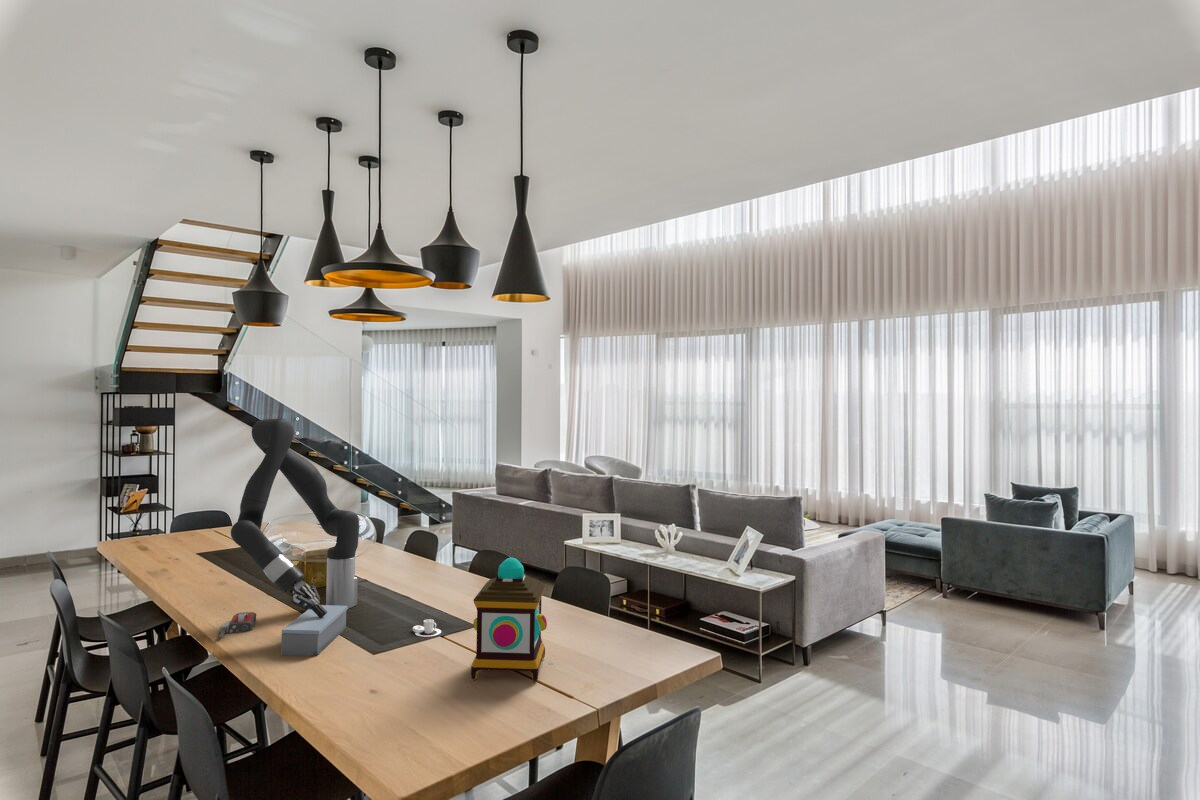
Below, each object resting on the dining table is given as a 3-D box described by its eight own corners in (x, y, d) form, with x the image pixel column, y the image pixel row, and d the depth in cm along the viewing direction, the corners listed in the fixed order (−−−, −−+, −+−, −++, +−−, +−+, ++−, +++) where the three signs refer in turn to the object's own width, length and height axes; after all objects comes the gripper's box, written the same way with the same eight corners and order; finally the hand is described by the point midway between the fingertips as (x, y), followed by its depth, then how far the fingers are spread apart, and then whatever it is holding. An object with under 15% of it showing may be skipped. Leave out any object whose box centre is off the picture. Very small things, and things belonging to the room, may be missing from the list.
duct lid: (281, 633, 195) (281, 629, 195) (314, 608, 219) (314, 604, 219) (319, 634, 195) (319, 630, 195) (347, 608, 219) (347, 605, 219)
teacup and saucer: (408, 633, 217) (408, 620, 217) (430, 627, 222) (430, 614, 222) (424, 640, 211) (424, 626, 211) (446, 634, 216) (446, 620, 216)
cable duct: (281, 655, 195) (281, 634, 195) (313, 627, 219) (314, 608, 219) (317, 655, 195) (317, 634, 195) (345, 628, 219) (346, 609, 219)
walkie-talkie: (227, 622, 224) (215, 642, 205) (227, 608, 224) (216, 627, 205) (257, 620, 227) (248, 640, 208) (257, 606, 227) (249, 625, 208)
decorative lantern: (480, 654, 198) (482, 549, 198) (549, 656, 197) (551, 550, 198) (464, 683, 178) (466, 565, 178) (541, 685, 177) (543, 567, 178)
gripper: (283, 569, 200) (325, 613, 200) (301, 559, 213) (341, 600, 214) (264, 587, 200) (306, 631, 200) (283, 576, 213) (323, 617, 213)
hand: (324, 615), depth 207 cm, fingers closed
